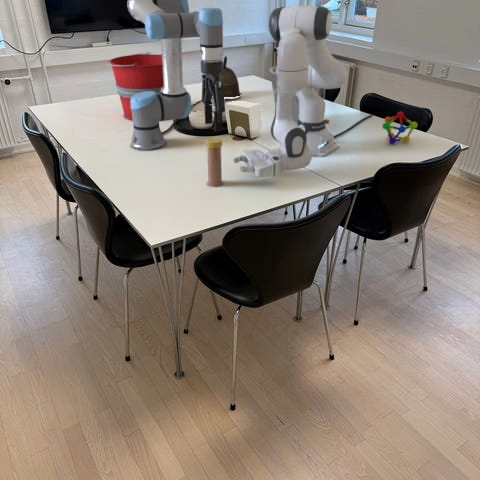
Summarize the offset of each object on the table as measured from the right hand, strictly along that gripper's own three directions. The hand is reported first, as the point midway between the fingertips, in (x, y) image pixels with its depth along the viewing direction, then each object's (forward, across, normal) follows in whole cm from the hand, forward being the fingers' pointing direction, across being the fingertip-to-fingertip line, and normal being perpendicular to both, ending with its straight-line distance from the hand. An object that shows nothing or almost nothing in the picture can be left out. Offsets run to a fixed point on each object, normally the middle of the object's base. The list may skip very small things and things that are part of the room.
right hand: (237, 164), depth 169 cm
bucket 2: (-50, -59, +7) cm, 78 cm away
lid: (+9, 0, -10) cm, 14 cm away
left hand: (+9, 0, -15) cm, 18 cm away
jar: (+9, 0, +7) cm, 11 cm away
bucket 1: (+23, -100, +7) cm, 103 cm away
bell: (-30, -125, +7) cm, 128 cm away
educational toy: (-85, -20, +7) cm, 88 cm away
